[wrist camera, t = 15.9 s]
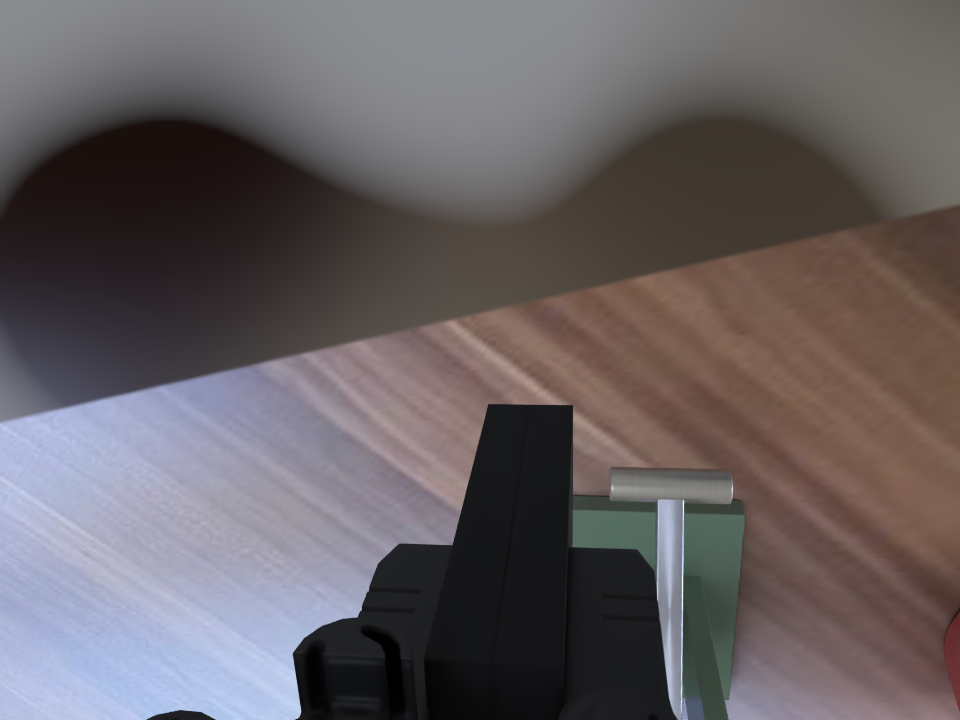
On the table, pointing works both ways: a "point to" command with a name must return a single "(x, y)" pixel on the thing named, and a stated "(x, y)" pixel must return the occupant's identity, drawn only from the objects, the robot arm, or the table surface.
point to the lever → (671, 542)
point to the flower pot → (953, 655)
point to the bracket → (684, 583)
